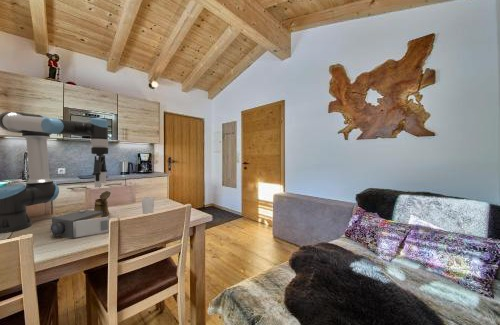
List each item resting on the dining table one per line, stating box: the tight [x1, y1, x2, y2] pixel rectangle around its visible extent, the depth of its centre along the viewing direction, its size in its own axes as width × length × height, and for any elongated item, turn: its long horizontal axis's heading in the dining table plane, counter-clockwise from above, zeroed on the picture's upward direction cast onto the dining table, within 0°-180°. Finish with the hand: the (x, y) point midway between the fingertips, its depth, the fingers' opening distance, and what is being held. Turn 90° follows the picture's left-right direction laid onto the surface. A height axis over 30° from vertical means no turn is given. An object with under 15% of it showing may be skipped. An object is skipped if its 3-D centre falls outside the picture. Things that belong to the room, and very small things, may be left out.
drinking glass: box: [141, 195, 155, 215], centre depth 128 cm, size 7×7×15 cm
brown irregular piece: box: [93, 190, 111, 217], centre depth 135 cm, size 9×14×18 cm, turn 57°
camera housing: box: [50, 208, 103, 239], centre depth 110 cm, size 14×19×10 cm
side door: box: [72, 216, 110, 239], centre depth 106 cm, size 2×15×8 cm, turn 126°
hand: (100, 185), depth 114 cm, fingers open, 13 cm apart
